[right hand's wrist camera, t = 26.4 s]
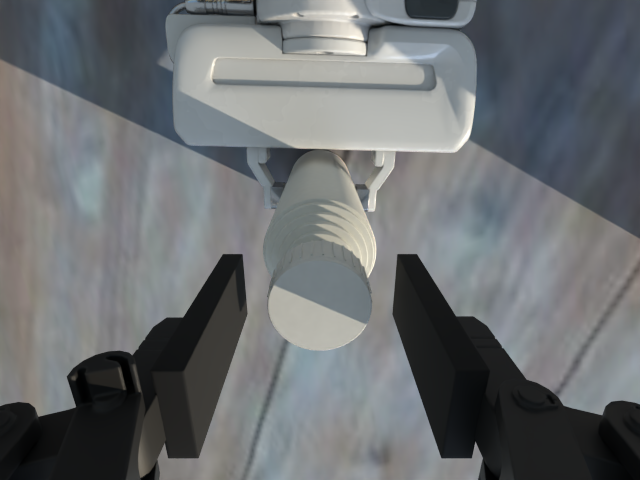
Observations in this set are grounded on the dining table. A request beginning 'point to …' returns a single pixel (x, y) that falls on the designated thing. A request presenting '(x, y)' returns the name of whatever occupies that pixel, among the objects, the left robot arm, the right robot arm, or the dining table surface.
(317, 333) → the cap
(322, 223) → the bottle
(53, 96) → the dining table surface
